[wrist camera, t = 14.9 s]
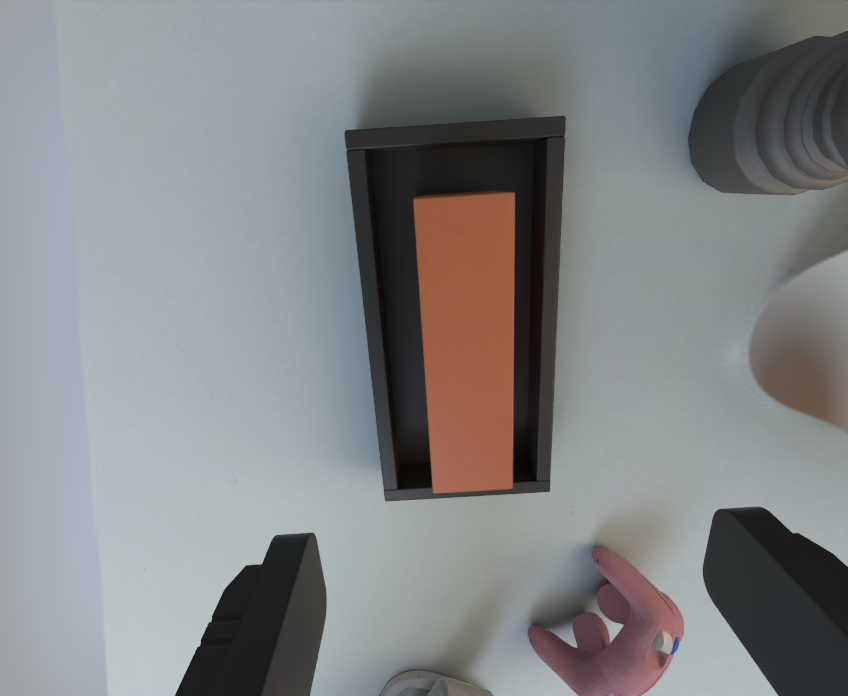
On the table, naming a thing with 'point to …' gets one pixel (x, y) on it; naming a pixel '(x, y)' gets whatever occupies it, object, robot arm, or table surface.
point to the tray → (399, 287)
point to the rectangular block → (468, 335)
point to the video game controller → (633, 646)
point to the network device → (432, 685)
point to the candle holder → (776, 122)
